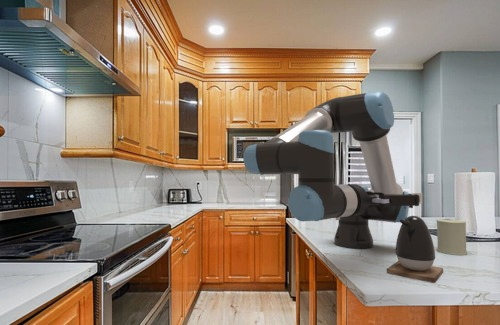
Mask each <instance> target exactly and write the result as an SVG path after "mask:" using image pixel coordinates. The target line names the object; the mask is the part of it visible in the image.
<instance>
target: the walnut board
mask: <svg viewBox="0 0 500 325" xmlns="http://www.w3.org/2000/svg"><path fill="white" fill-rule="evenodd" d="M386 273H387V274H391V275H395V276H400V277H404V278H410V279H415V280H419V281H424V282H429V283H433V284H435V283H436V282H437V281H438V280H439V278H440V277H441V276H442V275H443V273H444V267H440V266H435V265H432V266H431V267H430V268H429V269H427V270H425V271H414V270H410V269H407V268H405V267H404V266H402V265H401V264H400V262H399V261H398V260H397V261H395V263H393V264H391V265H390V266H389V267H387V268H386Z"/></svg>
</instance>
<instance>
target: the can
mask: <svg viewBox="0 0 500 325" xmlns="http://www.w3.org/2000/svg"><path fill="white" fill-rule="evenodd" d="M436 230H437V231H436V234H437V235H436V236H437V237H436V238H437V249H436V251H437V252H439V253H442V254H445V255H454V256H464V255H467V254H468V251H467V221H466V220H459V219H452V218H438V219H436Z"/></svg>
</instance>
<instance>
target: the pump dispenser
mask: <svg viewBox="0 0 500 325" xmlns="http://www.w3.org/2000/svg"><path fill="white" fill-rule="evenodd" d="M399 223H400V224H401V226H400V228H399V230H398V234H397V237H396V242H395V252H394V253H395V255H396V258H397V261H399V262H400V264H401V265H402V266H404V267H405V268H407V269H410V270H414V271H425V270H427V269H429V268H430V267H431V266H434V263H435V262H434V261H435V259H436V252H435V245H434V240H433V238H432V235H431V231H430V230H429V228H428V225H427V224H426V222H425V221H424V220H423V218H421V217H420V216H417V215H410V216H407V218H406V219H405V220H403V219H401V220H400V222H399Z"/></svg>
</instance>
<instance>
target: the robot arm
mask: <svg viewBox="0 0 500 325" xmlns="http://www.w3.org/2000/svg"><path fill="white" fill-rule="evenodd" d="M394 123H395V114H394V107H393V104H392V100H391V98H390V96H389V95H388V94H387V93H386V92H384V91H382V90H381V91H367V92H364V93H357V94H352V95H345V96H337V97H335V98H332V99H327V100H326V101H324V102H322V103H320V104H318V105H317V106H315V107H313V108H312V109H310V110H308V111H307V112H306V114H305V115H304V117H303V118H301V119H300V120H299V121H297V122H295V123H294V124H292V125H291V126H289V127H288V128H286V129H284V130H283V131H281V132H280V133H278V134H276V135H275V136H273V137H272V138H271V139H269V140H267V141H266V142H264V143H255V144H250V145H248V146H247V147H246V148H245V150H244V152H243V158H242V159H243V163H244V164H243V165H244V168H245V169H246V171H247V172H248V173H250V174H254V175H261V176H263V175H298V186H295V187H294V188H293V189H292V190H290V192H289V195H288V198H287V205H288V210H289V213H290V214H291V215H292V216H293V217H294V219H296V220H297V221H299V222H319V221H324V220H331V219H335V220H336V221H338V226H337V228H336V232H335V235H334V237H333V238H334V239H333V240H334V242H333V243H334V244H335V245H337V246H340V247H342V248H343V247H344V248H350V249H369V248H370V249H371V248H373V247H374V238H373V236H372V233H371V230H370V227H369V221H378V222H384V223H385V222H387V223H394V224H395V223H400V220H401V219H403V220H405V219H406V218H407V217H409V216H408V215H409V208H410V209H413V208H414V207H419V206H420V204H423V192H411V193H410V192H408V191H405V190H403V188H402V186H401V185H400V184H398V183H397V179H396V175H395V169H394V166H393V161H392V156H391V155H392V154H391V152H390V151H391V150H390V145H389V141H388V136H387V135H389V133H390V131H391V129H392V127H393V126H394ZM335 133H338V134H339V133H351V135H352V138H353V139H354V141H356V142H358V143H359V146H360V149H361V150H360V151H361V153H362V158H363V161H364V164H365V167H366V172H367V175H368V179H369V183H370V187H371V188H370V189H369V187H367V186H361V185H359V184H356V183H351V184H350V183H349V184H345V183H343V184H335V148H334V147H335V146H334V136H333V134H335Z"/></svg>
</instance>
